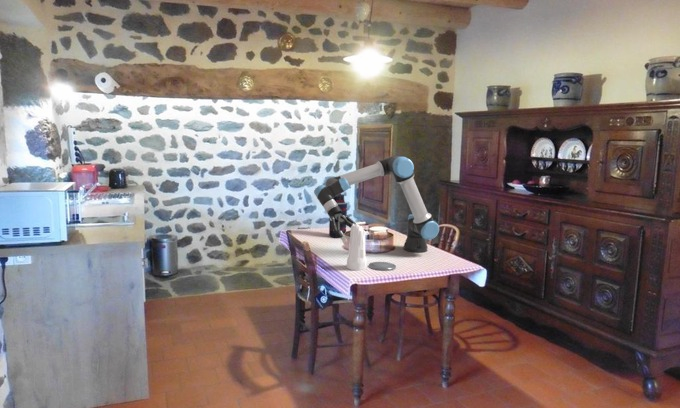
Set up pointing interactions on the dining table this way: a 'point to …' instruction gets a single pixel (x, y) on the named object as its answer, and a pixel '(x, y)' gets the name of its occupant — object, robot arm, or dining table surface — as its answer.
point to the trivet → (382, 266)
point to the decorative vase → (357, 249)
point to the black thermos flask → (343, 206)
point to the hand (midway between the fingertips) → (353, 240)
